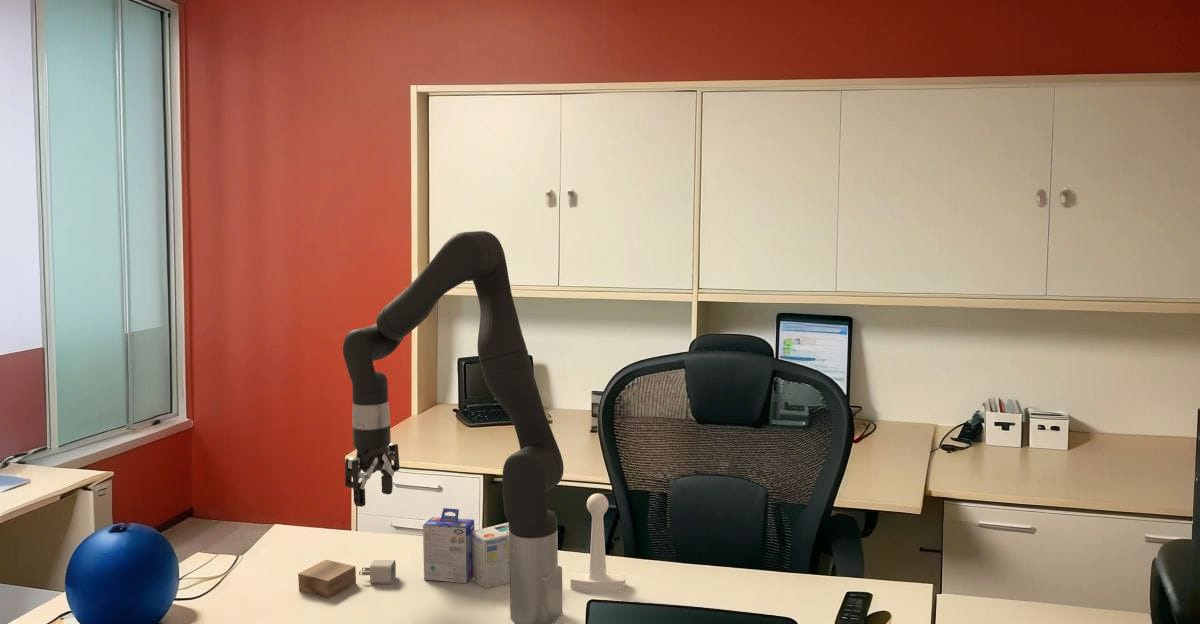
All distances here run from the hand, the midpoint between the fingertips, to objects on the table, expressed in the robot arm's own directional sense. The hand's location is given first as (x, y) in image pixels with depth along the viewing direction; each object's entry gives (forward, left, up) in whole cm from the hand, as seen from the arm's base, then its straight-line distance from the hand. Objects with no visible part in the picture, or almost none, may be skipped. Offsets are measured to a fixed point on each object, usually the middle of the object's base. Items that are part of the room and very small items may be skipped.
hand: (373, 499), depth 190 cm
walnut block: (+7, +7, -18) cm, 20 cm away
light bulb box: (-23, -12, -18) cm, 31 cm away
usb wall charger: (0, 0, -18) cm, 18 cm away
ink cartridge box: (-13, -8, -18) cm, 23 cm away
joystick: (-43, -18, -18) cm, 50 cm away
